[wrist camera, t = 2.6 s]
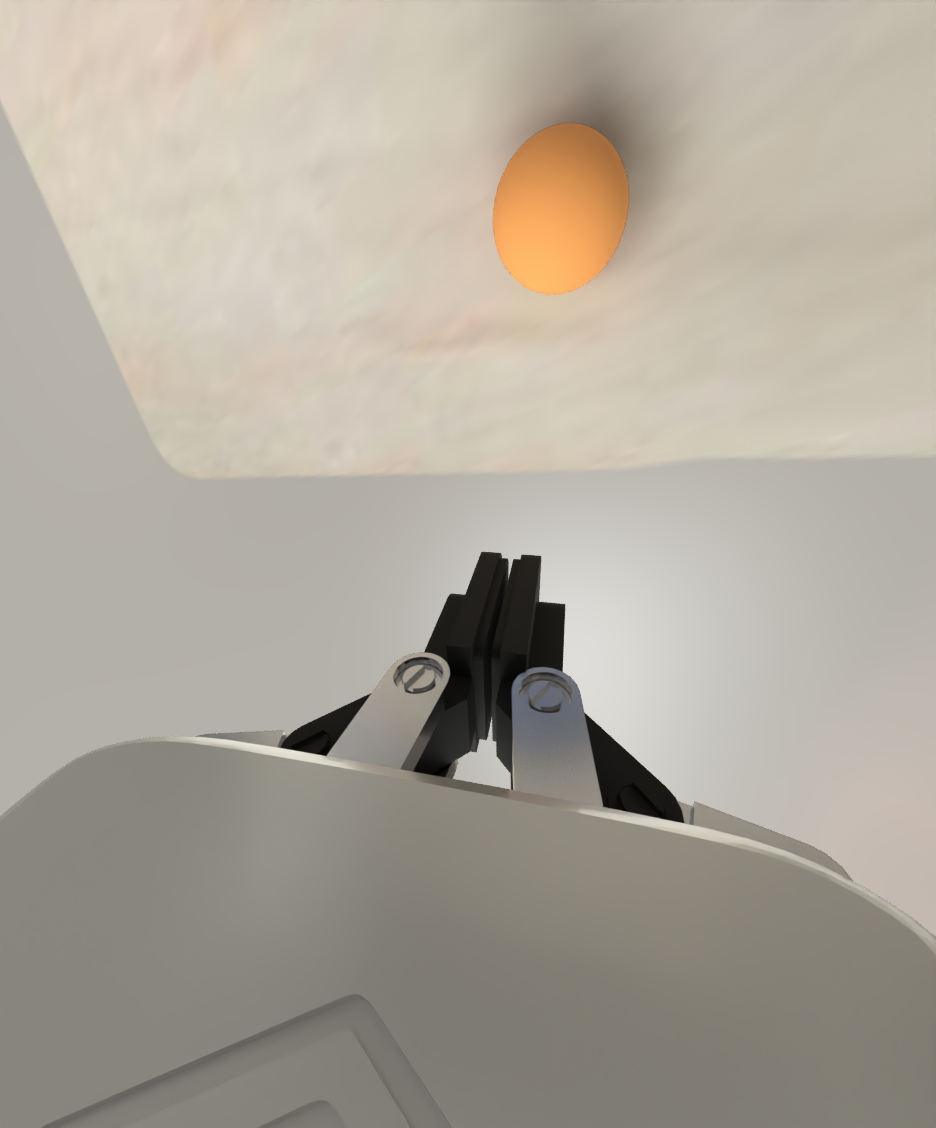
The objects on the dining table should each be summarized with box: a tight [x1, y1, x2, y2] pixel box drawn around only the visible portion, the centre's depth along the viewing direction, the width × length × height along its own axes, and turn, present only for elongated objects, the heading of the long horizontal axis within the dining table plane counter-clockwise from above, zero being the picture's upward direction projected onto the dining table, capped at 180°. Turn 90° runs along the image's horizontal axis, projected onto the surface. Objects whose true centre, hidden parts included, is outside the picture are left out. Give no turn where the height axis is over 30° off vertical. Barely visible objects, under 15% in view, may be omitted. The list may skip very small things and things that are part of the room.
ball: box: [493, 123, 629, 295], centre depth 16 cm, size 5×5×5 cm
